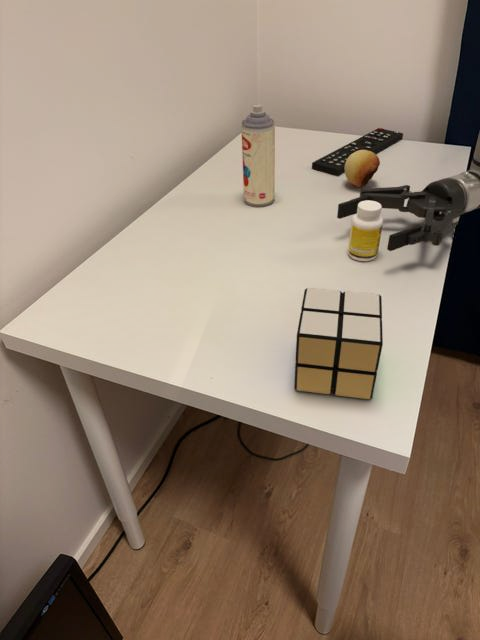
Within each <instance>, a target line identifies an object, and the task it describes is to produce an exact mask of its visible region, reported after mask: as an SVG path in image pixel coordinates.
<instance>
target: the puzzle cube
mask: <svg viewBox="0 0 480 640" xmlns="http://www.w3.org/2000/svg"><path fill="white" fill-rule="evenodd" d="M303 291H304V292H303V298H302V303H301V308H300V309H301V310H300V315H299V320H298V325H297V332H296V342H295V364H294V385H293V386H294V387H293V388H294V390H295V391H298V392H306V393H314V394H323V395H324V394H325V395H332V394H333V395H334V396H337V397H347V398H354V399H363V400H364V399H365V400H372V399H373V398H374V397H373V396H374V392H375V391H374V390H375V386H376V381H377V376H378V369H379V365H380V361H381V360H380V359H381V354H382V349H383V344H384V339H383V336H384V335H383V306H382V303H383V301H382V295H381V294H379V293H370V292H369V293H368V292H357V291H347V290H346V291H341V290H338V289H337V290H335V289H325V288H314V287H313V288H312V287H306V288H305V289H304V290H303Z"/></svg>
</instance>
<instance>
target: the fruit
mask: <svg viewBox="0 0 480 640" xmlns="http://www.w3.org/2000/svg"><path fill="white" fill-rule="evenodd" d="M380 165H381V160H380V157H379V156H378V154H375V153H373V152H371V151H367V150H359V151H356V152H354V153H352V154H351V155H350V156H349V157H348V159H347V161H346V163H345V173H344V175H345V177H346V179H347V181H348V182H349V183H350V184H351V185H352V186H355V187H356V188H362V187H365V186H366V185H368V184H369V182H370V180H372V178H373V177H374V175H375V174H376V173H377V172H378V169H379V166H380Z"/></svg>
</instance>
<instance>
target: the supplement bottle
mask: <svg viewBox="0 0 480 640" xmlns="http://www.w3.org/2000/svg"><path fill="white" fill-rule="evenodd" d="M382 209H383V208H382V206H381V204H380V203H378V202H376V201H370V200H366V201H362V202H360V203H359V204H358V208H357V213H356V214H353V215H352V218H351V224H350V230H349V239H348V246H347V247H348V248H347V254H348V256H349V257H350V258H351V259H353V260H354V261H359V262H369V261H373V260H374V259H376V258H377V257H378V255H379V254H378V253H379V249H380V242H381V236H382V230H383V225H384V219H383V216H381V213H382Z"/></svg>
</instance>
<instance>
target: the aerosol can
mask: <svg viewBox="0 0 480 640" xmlns="http://www.w3.org/2000/svg"><path fill="white" fill-rule="evenodd" d="M252 106H253V107H252V108H253V109H252V111H251V112H250V113H249V114H248V115H247V116H246V118H245V119H243V120H242V121H241V127H240V128H241V129H240V130H241V153H242V157H241V158H242V180H243V181H242V183H243V203H244V204H245V205H247V206H249V207H252V208H264V207H265V208H266V207H268V206H271V205H272V204H274V202H275V193H276V192H275V187H276V186H275V185H276V181H275V180H276V178H275V177H276V173H275V172H276V125H275V120H274V119H273V118H271V117H270V116H269V114H267V113H266V112H265V111H264V110H263V105H262V104H254V105H252Z"/></svg>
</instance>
